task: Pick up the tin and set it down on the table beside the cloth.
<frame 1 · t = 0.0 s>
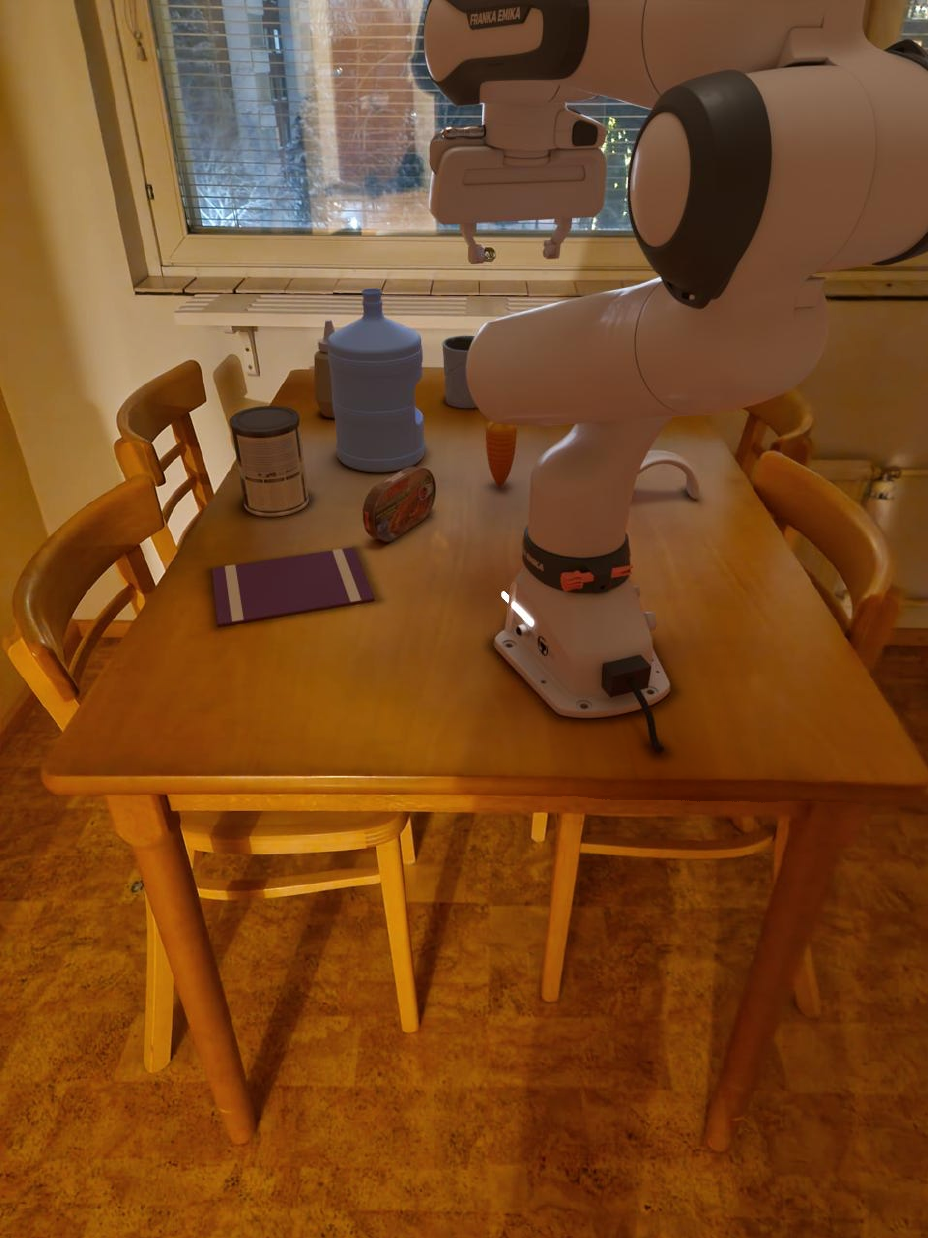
hand: (513, 260, 96), 39 cm above the table, tool pointing down, fingers open, 8 cm apart
tin: (401, 528, 122), on the table
water jug: (381, 456, 144), on the table
coffee can: (276, 503, 129), on the table
squeeze bottle: (337, 414, 161), on the table
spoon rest: (622, 496, 132), on the table
carrot: (499, 487, 134), on the table
cloth: (291, 585, 109), on the table
grey cup: (467, 402, 167), on the table
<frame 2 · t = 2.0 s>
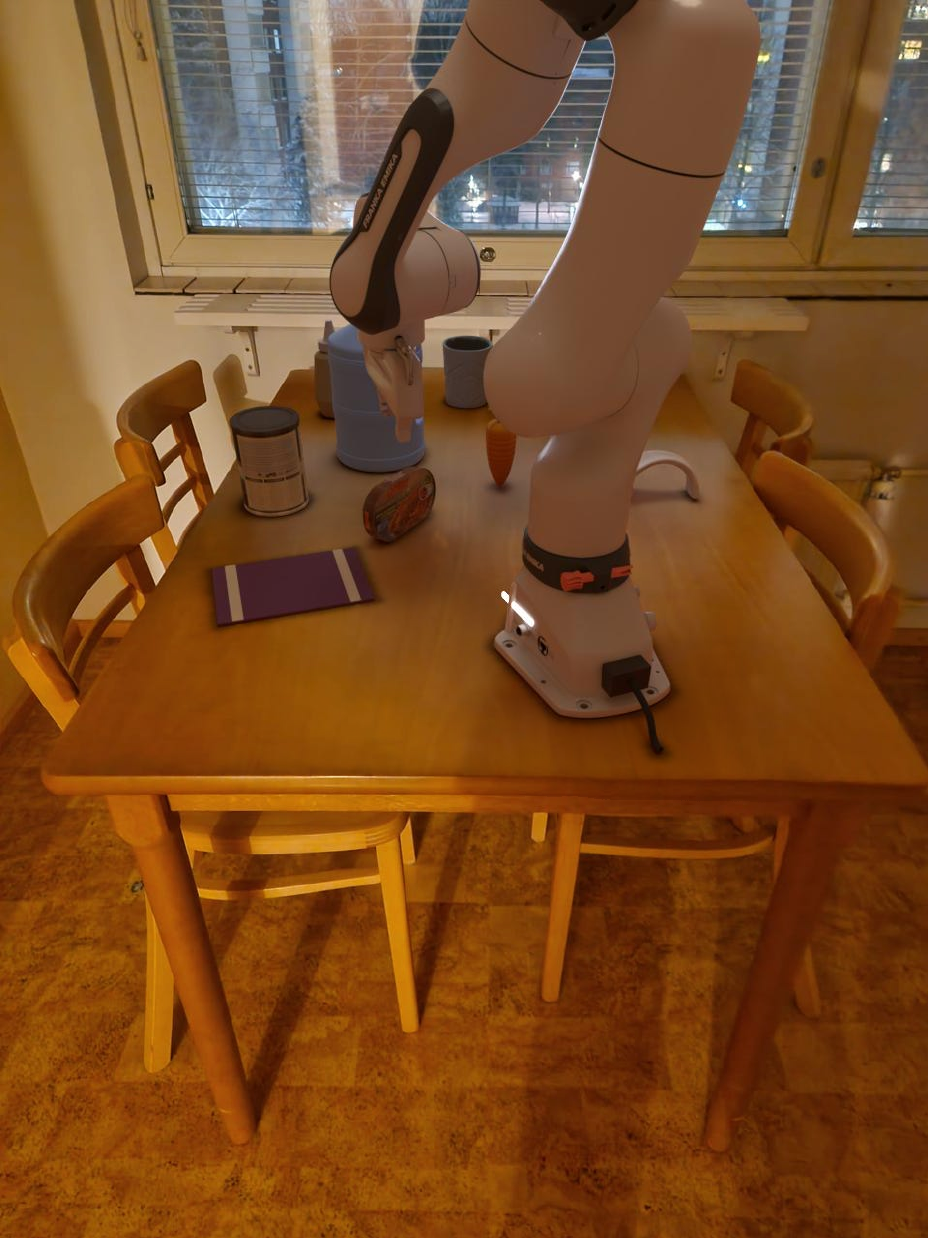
hand: (395, 427, 113), 16 cm above the table, tool pointing down, fingers open, 8 cm apart
nothing on the table moved.
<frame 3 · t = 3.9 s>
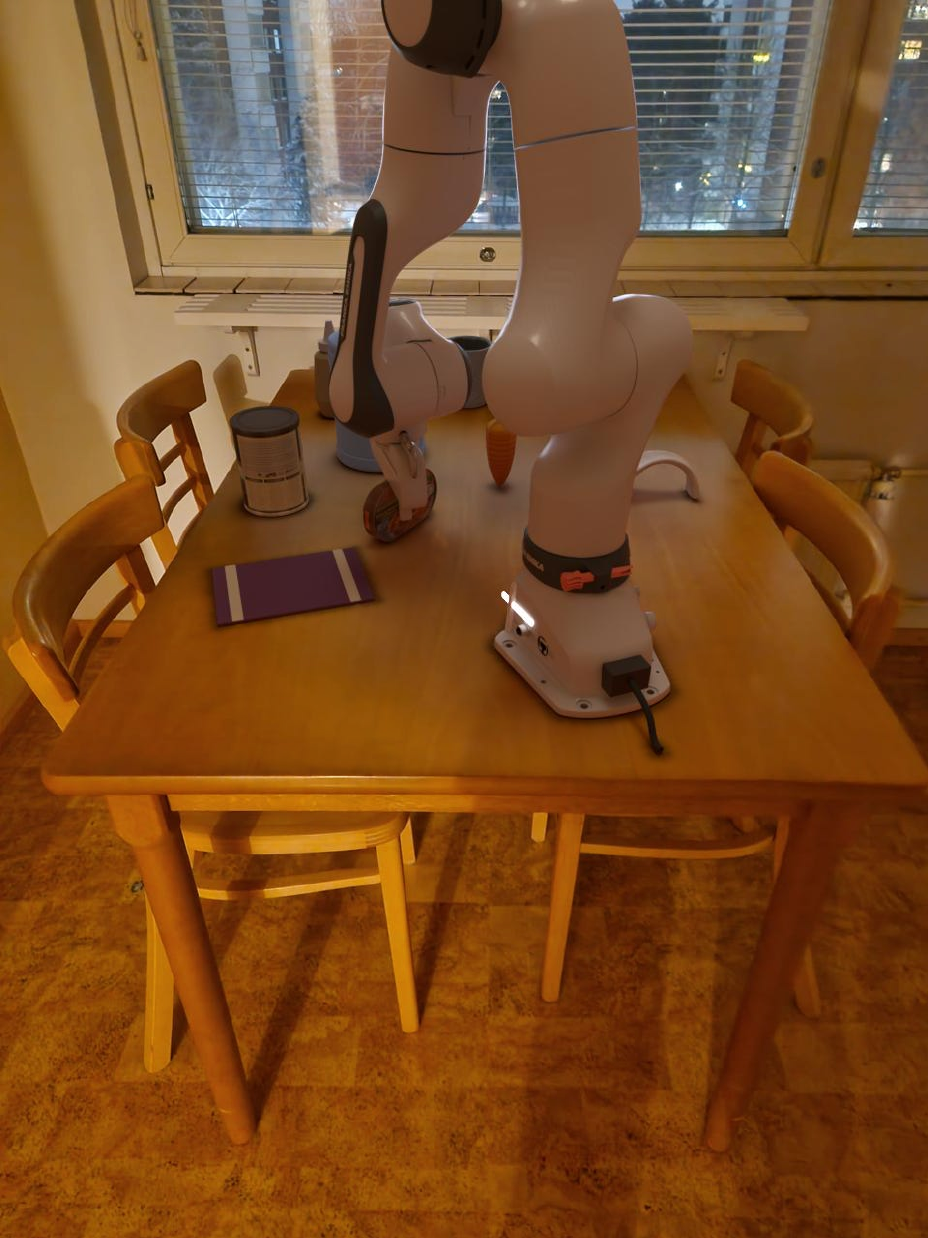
hand: (400, 508, 121), 3 cm above the table, tool pointing down, fingers closed on tin, 5 cm apart
tin: (400, 528, 122), on the table, touching gripper
everything else where it was.
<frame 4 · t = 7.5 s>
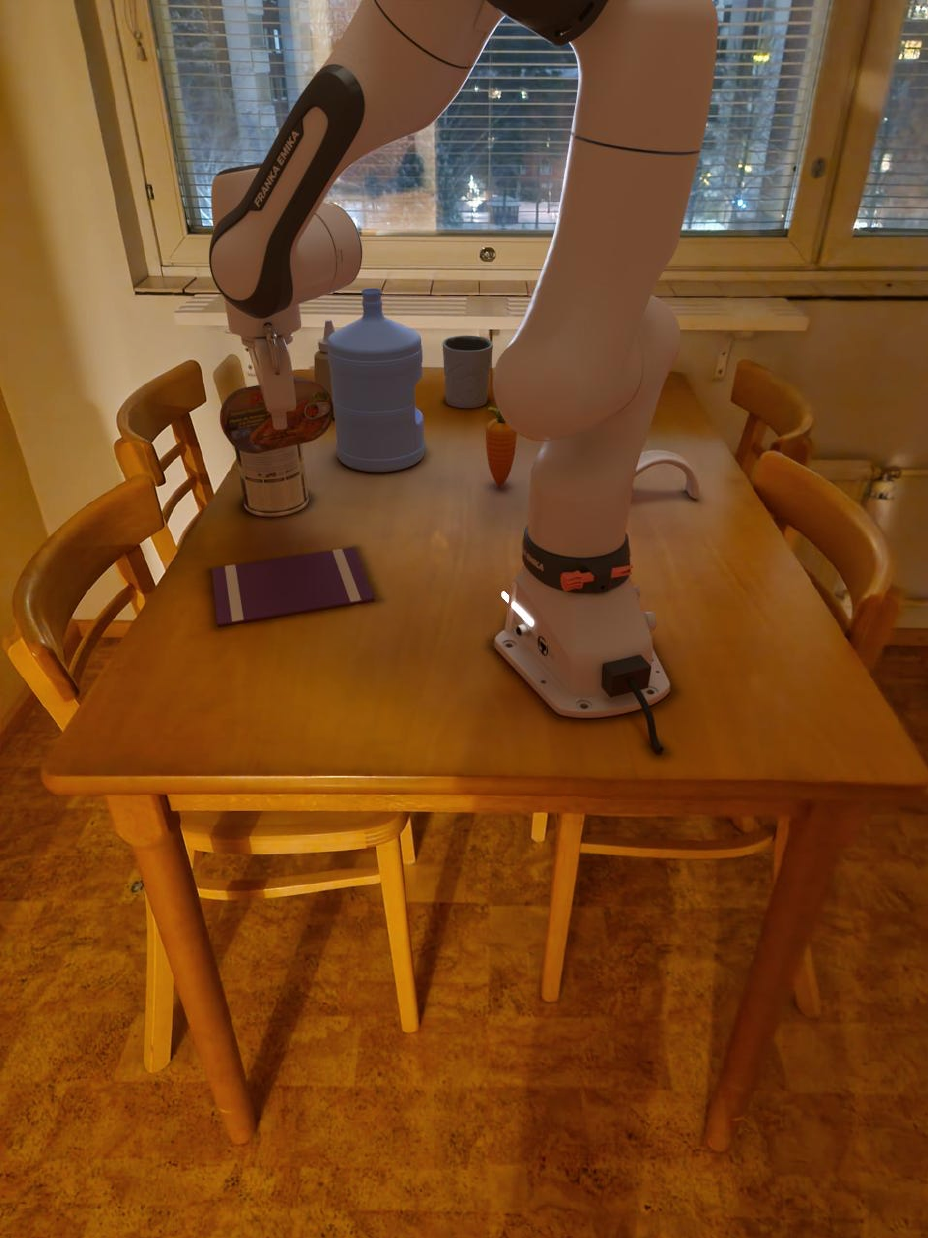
hand: (278, 421, 107), 19 cm above the table, tool pointing down, fingers closed on tin, 3 cm apart
tin: (280, 444, 110), point 15 cm above the table, touching gripper
everything else where it was.
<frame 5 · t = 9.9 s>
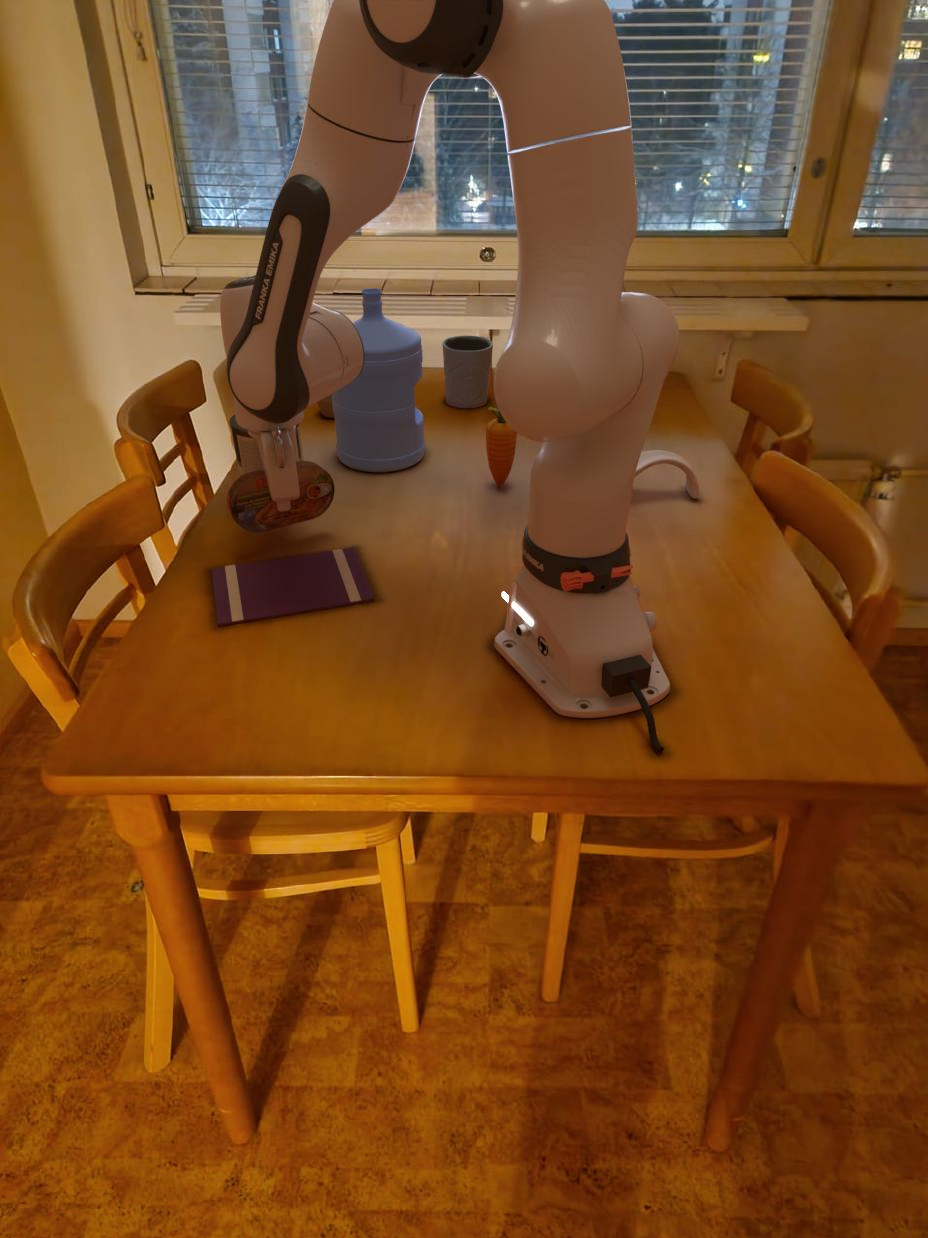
hand: (282, 501, 114), 7 cm above the table, tool pointing down, fingers closed on tin, 3 cm apart
tin: (284, 522, 116), point 4 cm above the table, touching gripper
everything else where it was.
when the fingers open (3 cm above the table, at t = 11.2 s): tin stays where it is, on the table.
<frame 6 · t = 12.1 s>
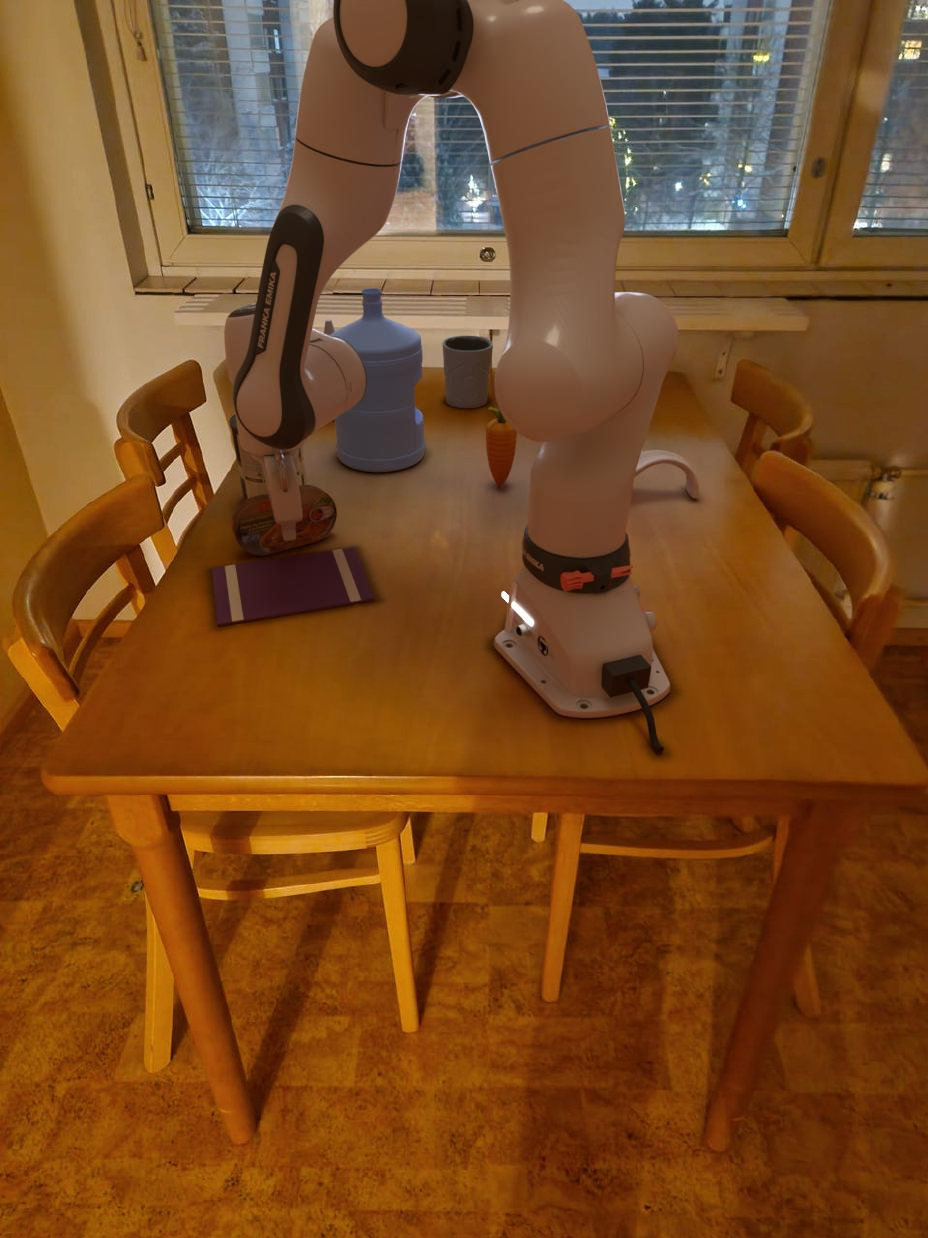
hand: (285, 522, 116), 4 cm above the table, tool pointing down, fingers open, 8 cm apart
tin: (288, 545, 118), on the table
everything else where it was.
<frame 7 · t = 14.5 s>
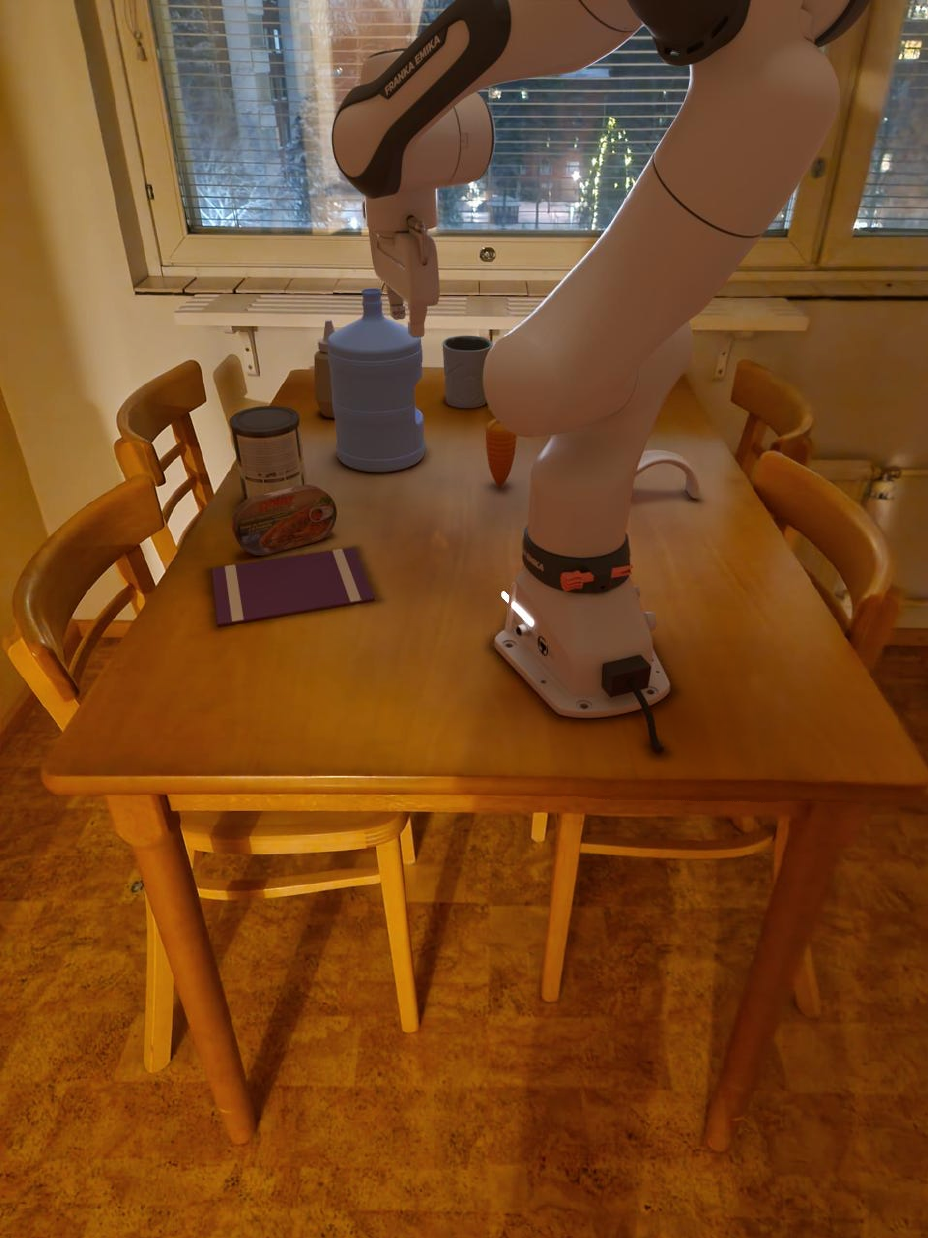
hand: (407, 326, 107), 29 cm above the table, tool pointing down, fingers open, 8 cm apart
nothing on the table moved.
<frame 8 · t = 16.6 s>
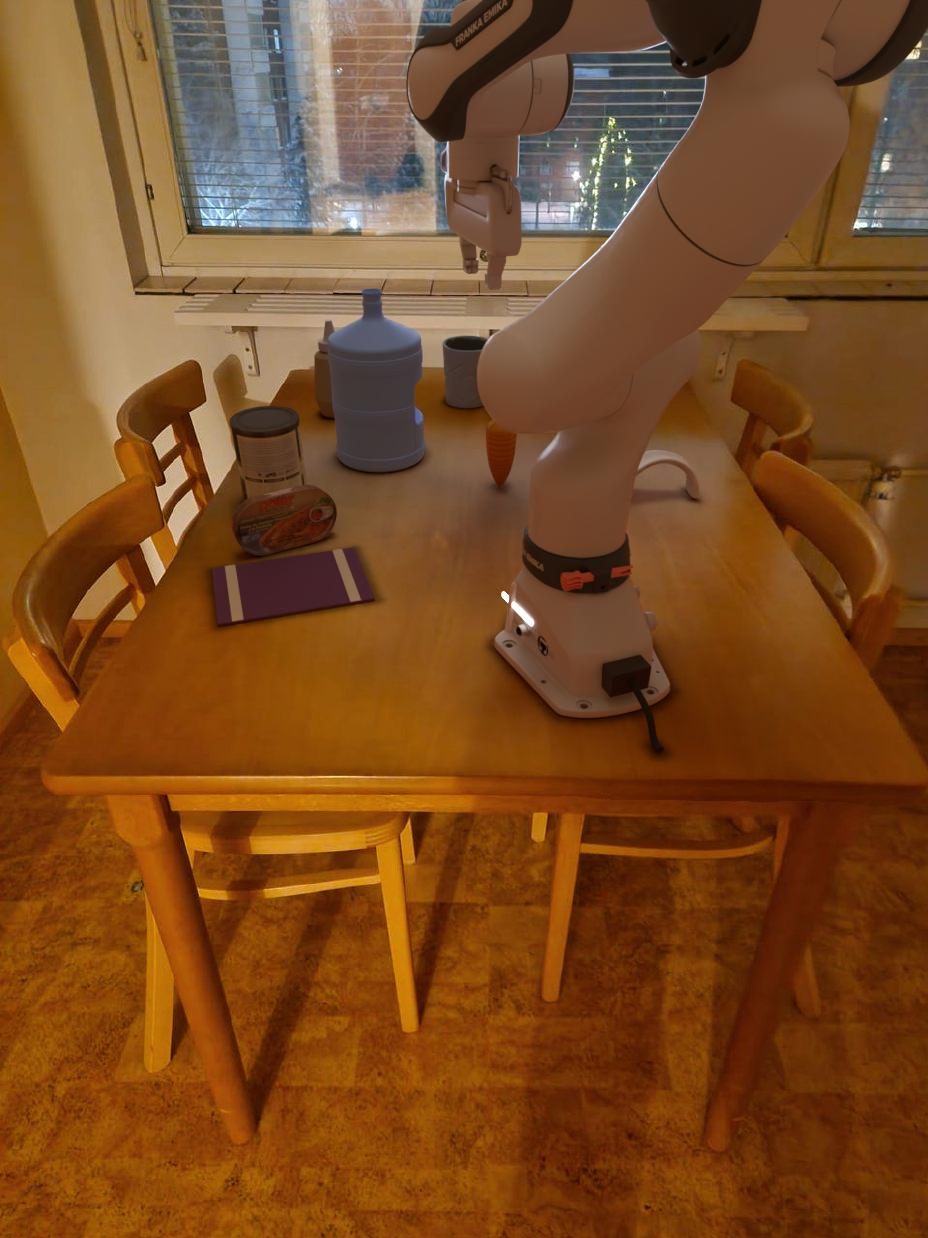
hand: (481, 280, 108), 34 cm above the table, tool pointing down, fingers open, 8 cm apart
nothing on the table moved.
at the end: tin inside the target area on the table beside the cloth (0.7 cm from its centre), on the table; tin tilted 0°; the gripper is holding nothing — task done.
